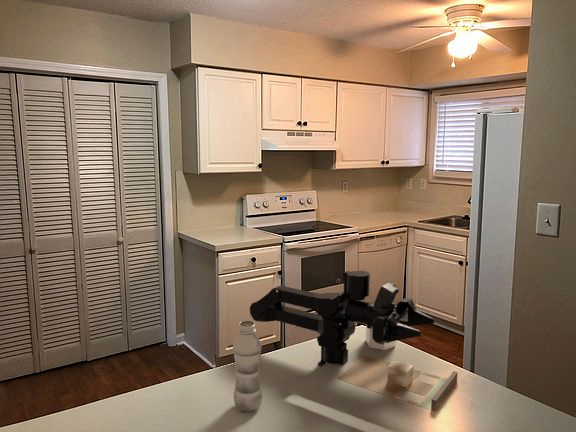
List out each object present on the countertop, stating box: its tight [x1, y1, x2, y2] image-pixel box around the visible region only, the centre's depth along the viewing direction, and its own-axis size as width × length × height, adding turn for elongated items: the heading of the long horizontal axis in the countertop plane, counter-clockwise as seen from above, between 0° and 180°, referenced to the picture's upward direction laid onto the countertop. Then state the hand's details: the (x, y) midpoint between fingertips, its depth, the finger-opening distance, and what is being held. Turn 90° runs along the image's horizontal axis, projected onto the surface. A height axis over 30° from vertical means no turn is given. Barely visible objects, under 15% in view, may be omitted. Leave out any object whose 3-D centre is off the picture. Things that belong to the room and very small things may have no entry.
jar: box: [365, 308, 397, 351], centre depth 138 cm, size 9×8×12 cm
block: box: [387, 360, 414, 388], centre depth 116 cm, size 5×4×4 cm
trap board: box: [336, 355, 459, 412], centre depth 117 cm, size 25×16×4 cm, turn 54°
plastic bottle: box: [232, 320, 263, 413], centre depth 106 cm, size 6×7×20 cm
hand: (427, 327), depth 112 cm, fingers open, 9 cm apart
